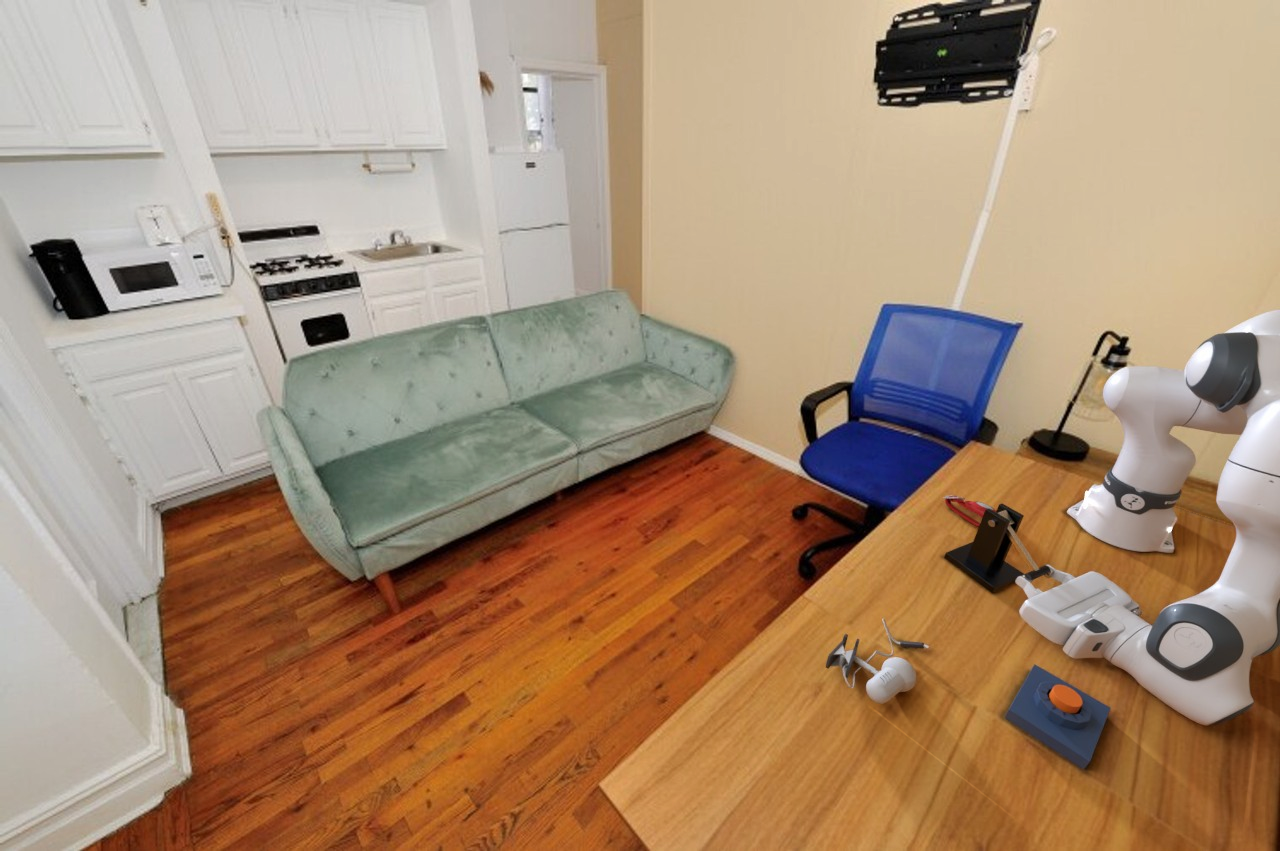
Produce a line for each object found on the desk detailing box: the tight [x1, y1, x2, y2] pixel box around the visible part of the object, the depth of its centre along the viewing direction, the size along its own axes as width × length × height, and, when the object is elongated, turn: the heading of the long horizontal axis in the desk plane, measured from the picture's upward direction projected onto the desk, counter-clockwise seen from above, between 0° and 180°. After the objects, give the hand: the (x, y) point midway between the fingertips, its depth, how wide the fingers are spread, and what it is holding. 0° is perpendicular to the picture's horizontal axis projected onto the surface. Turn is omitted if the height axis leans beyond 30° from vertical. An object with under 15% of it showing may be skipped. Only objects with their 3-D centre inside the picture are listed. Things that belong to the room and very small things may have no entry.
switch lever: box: [998, 510, 1050, 581], centre depth 98 cm, size 13×6×2 cm
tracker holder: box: [942, 494, 997, 527], centre depth 121 cm, size 12×4×10 cm
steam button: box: [1049, 685, 1083, 714], centre depth 76 cm, size 4×4×2 cm
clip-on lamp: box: [825, 617, 930, 705], centre depth 85 cm, size 12×6×18 cm
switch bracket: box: [943, 503, 1025, 594], centre depth 103 cm, size 11×9×15 cm
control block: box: [1004, 663, 1112, 770], centre depth 77 cm, size 12×10×4 cm
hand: (1030, 572), depth 97 cm, fingers closed on switch lever, 5 cm apart
